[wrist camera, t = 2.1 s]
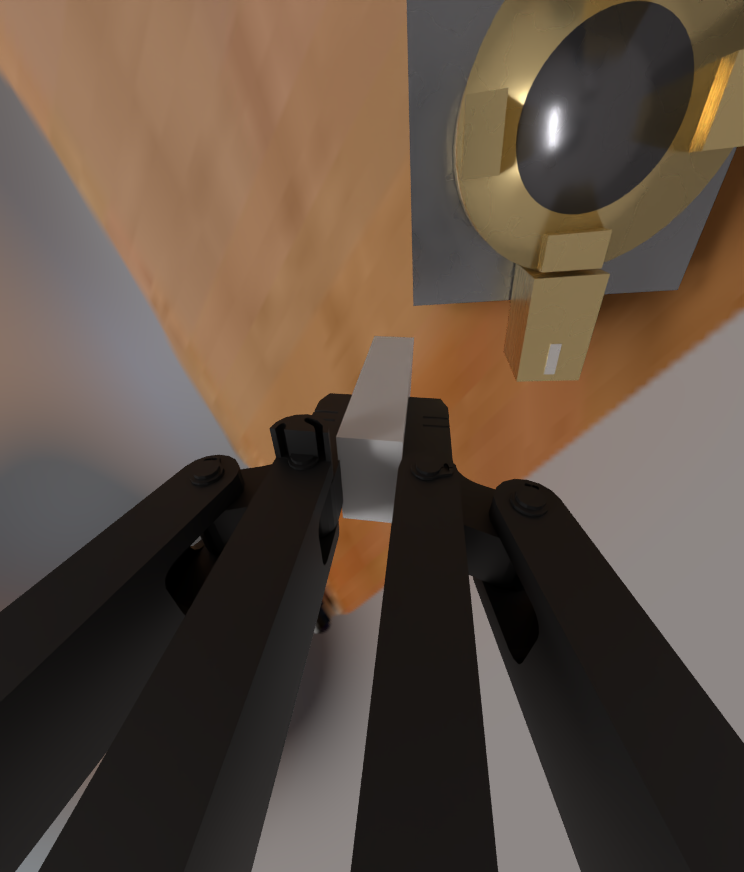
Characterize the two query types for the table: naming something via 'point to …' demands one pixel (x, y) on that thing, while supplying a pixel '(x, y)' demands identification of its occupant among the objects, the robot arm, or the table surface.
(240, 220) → the table surface
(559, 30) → the brass ring with ball
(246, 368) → the table surface
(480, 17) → the housing
